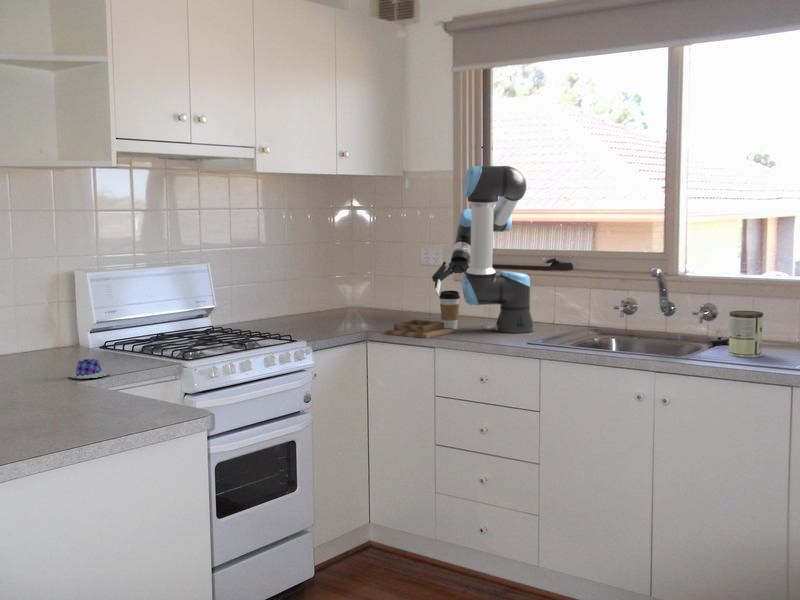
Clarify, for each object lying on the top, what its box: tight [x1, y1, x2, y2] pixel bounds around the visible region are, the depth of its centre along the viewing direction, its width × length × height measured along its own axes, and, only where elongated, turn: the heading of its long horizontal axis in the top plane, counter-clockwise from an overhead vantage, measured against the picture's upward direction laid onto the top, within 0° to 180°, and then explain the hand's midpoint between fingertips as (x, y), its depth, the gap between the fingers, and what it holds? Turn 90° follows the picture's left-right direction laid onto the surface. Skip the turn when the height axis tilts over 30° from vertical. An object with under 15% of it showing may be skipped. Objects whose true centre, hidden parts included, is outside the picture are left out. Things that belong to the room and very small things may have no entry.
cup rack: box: [384, 319, 454, 339], centre depth 346 cm, size 20×18×4 cm
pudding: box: [75, 358, 103, 376], centre depth 266 cm, size 12×12×5 cm
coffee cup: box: [438, 290, 461, 330], centre depth 357 cm, size 8×8×15 cm
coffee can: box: [728, 310, 764, 358], centre depth 290 cm, size 10×10×14 cm
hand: (452, 293), depth 363 cm, fingers open, 13 cm apart
